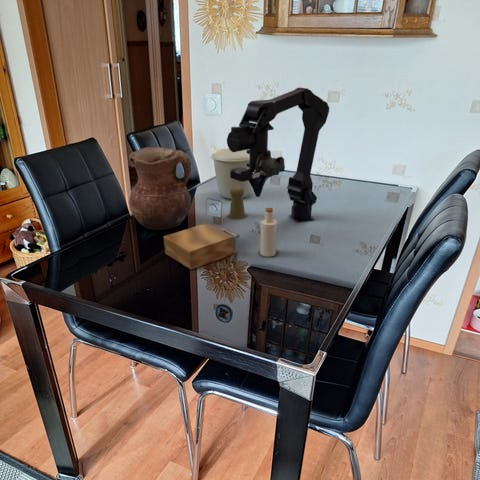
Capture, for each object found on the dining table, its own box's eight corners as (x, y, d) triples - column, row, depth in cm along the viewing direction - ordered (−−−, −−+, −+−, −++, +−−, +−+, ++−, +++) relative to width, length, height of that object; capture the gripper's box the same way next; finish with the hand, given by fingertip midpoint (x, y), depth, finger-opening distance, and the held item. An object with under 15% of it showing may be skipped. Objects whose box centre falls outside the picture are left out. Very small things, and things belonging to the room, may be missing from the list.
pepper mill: (243, 219, 161) (243, 189, 154) (227, 218, 162) (226, 189, 155) (246, 213, 166) (246, 184, 159) (231, 212, 167) (230, 184, 160)
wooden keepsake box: (207, 239, 146) (206, 223, 142) (233, 253, 137) (233, 236, 133) (165, 253, 137) (163, 236, 134) (190, 269, 128) (189, 251, 125)
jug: (142, 239, 147) (130, 163, 132) (125, 219, 162) (113, 149, 148) (202, 227, 155) (197, 154, 141) (181, 209, 170) (174, 142, 156)
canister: (263, 193, 185) (264, 141, 174) (241, 205, 173) (240, 150, 161) (228, 186, 194) (227, 136, 182) (204, 197, 181) (201, 144, 169)
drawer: (221, 233, 148) (220, 221, 145) (245, 245, 139) (245, 233, 137) (172, 249, 137) (170, 237, 135) (195, 264, 129) (194, 251, 127)
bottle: (267, 248, 140) (269, 204, 131) (279, 253, 137) (281, 208, 128) (256, 253, 137) (257, 208, 129) (268, 258, 134) (269, 213, 126)
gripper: (252, 156, 123) (252, 209, 132) (298, 146, 133) (295, 196, 142) (228, 149, 131) (229, 200, 139) (273, 140, 140) (272, 188, 149)
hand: (257, 196), depth 142 cm, fingers closed
